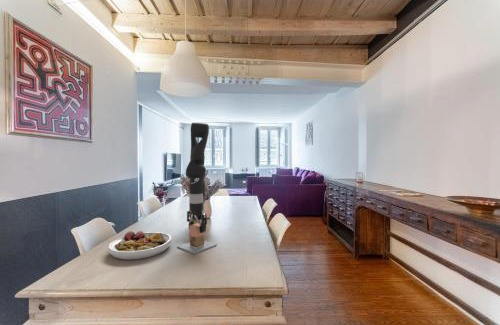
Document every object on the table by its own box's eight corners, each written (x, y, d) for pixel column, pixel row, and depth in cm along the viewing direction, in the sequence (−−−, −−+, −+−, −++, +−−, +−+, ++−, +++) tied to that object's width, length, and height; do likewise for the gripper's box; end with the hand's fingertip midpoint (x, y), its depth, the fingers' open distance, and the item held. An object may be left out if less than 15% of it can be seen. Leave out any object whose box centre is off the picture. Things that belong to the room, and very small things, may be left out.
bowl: (182, 247, 132) (182, 232, 132) (129, 268, 107) (128, 250, 107) (150, 237, 149) (150, 224, 148) (97, 253, 124) (97, 238, 124)
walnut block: (189, 245, 131) (189, 235, 131) (197, 242, 135) (197, 232, 135) (196, 247, 127) (196, 237, 127) (204, 244, 132) (204, 234, 132)
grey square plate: (177, 247, 130) (177, 245, 130) (199, 240, 142) (199, 238, 142) (194, 254, 121) (194, 252, 121) (216, 245, 132) (216, 244, 132)
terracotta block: (189, 235, 131) (189, 225, 131) (197, 232, 135) (197, 223, 135) (195, 237, 127) (195, 227, 127) (204, 234, 132) (203, 224, 131)
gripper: (210, 202, 129) (210, 232, 130) (193, 199, 138) (194, 227, 139) (199, 204, 123) (199, 235, 124) (182, 201, 132) (183, 230, 133)
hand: (196, 231), depth 131 cm, fingers open, 8 cm apart
